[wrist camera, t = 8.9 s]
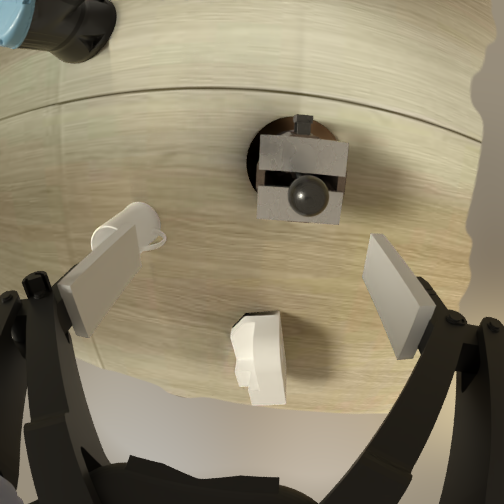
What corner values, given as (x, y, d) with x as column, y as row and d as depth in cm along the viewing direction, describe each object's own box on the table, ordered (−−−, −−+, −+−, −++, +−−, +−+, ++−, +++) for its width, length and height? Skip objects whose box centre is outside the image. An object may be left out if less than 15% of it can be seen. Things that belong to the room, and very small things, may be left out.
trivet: (248, 113, 43) (248, 113, 42) (346, 122, 42) (347, 122, 42) (245, 206, 50) (244, 207, 49) (336, 213, 49) (337, 214, 49)
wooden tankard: (261, 114, 42) (256, 111, 30) (334, 120, 42) (355, 120, 30) (258, 196, 48) (251, 222, 36) (326, 201, 48) (342, 229, 36)
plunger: (274, 142, 43) (272, 158, 24) (320, 146, 42) (354, 166, 24) (271, 186, 46) (267, 236, 27) (316, 189, 45) (343, 241, 27)
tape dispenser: (286, 362, 66) (286, 404, 54) (242, 364, 67) (236, 405, 56) (279, 309, 59) (278, 353, 48) (229, 313, 60) (219, 356, 49)
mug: (179, 209, 51) (154, 234, 40) (175, 250, 55) (152, 283, 44) (122, 198, 51) (88, 219, 40) (121, 238, 55) (91, 266, 44)
